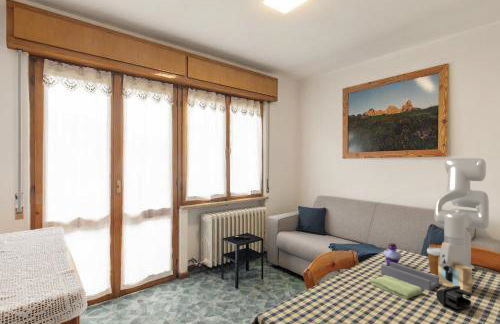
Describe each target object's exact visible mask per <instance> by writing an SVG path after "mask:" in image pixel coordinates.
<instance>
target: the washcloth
mask: <svg viewBox="0 0 500 324" xmlns="http://www.w3.org/2000/svg"><path fill="white" fill-rule="evenodd" d="M370 283H371V285H372V286H375V287H376V288H378V289H380V290H383V291H385V292H387V293H390V294H392V295H393V296H397V297H399V298H401V299H403V300H408V299H411V298H413V297H417V296H420V295H422V294H424V291H423V290H422V289H423V288H420V287H418V286H415V285H412V284H409V283H407V282H404V281H401V280H398V279H396V278H393V277H390V276H387V275H385V276H378V277H376V278H370Z"/></svg>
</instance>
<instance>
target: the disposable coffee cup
mask: <svg viewBox="0 0 500 324" xmlns="http://www.w3.org/2000/svg"><path fill="white" fill-rule="evenodd" d="M440 251H441V247H434V246H433V247H432V246H431V247H427V249H426V252H427V258H428V265H429V271H430V274H432V275H435V276H438V257H440Z"/></svg>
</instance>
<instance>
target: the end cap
mask: <svg viewBox="0 0 500 324" xmlns="http://www.w3.org/2000/svg"><path fill="white" fill-rule="evenodd" d="M435 296H436V300H437V301H438V302H439V303H440V305H441V306H443V307H444V308H445V309H447V310H450V311H451V312H453V313H459V312H463V311H467V310H469V309H471V305H472V304H471V303H472V300H471V299H468V298H465V297H464V296H466V297H469V298H471V297H472V294H471V293H469V292H467V291H464V290H462V289H460V286H453V287H450V286H448V287H445V288H440V289H438V290H437V291H436V294H435Z"/></svg>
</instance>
